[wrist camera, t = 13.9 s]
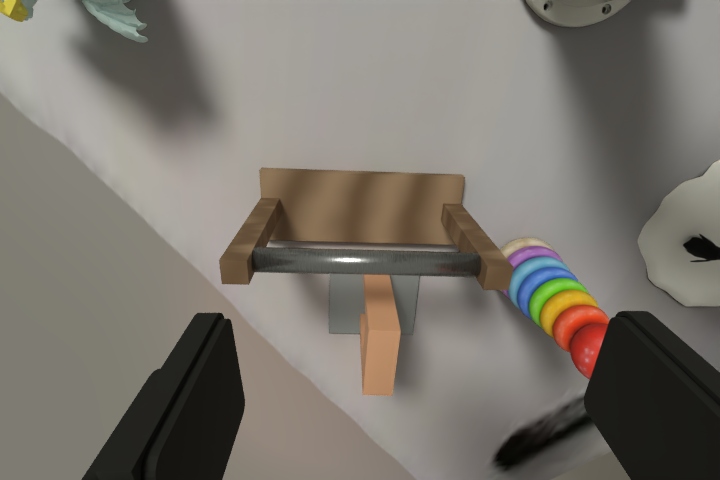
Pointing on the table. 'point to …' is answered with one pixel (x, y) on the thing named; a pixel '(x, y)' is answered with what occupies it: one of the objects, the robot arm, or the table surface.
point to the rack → (363, 227)
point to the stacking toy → (555, 300)
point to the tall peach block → (379, 336)
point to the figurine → (686, 241)
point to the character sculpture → (102, 3)
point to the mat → (351, 303)
